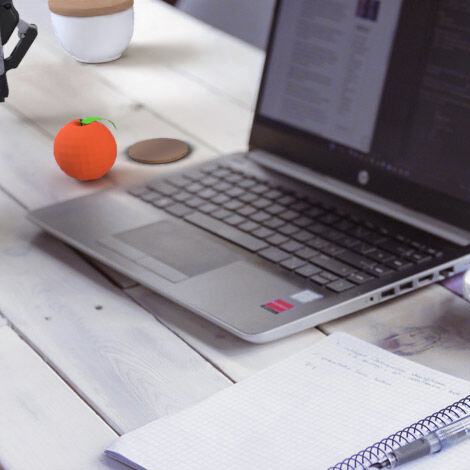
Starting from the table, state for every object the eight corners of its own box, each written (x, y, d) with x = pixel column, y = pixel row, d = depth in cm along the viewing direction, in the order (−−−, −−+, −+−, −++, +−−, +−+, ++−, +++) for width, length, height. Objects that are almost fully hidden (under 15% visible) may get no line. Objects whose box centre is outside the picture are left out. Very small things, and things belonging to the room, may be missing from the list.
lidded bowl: (146, 63, 145) (139, -10, 140) (62, 73, 141) (50, -2, 136) (131, 41, 156) (123, -28, 150) (51, 49, 151) (40, -21, 146)
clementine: (102, 157, 113) (95, 101, 110) (140, 173, 109) (133, 114, 106) (45, 179, 108) (35, 120, 104) (83, 196, 104) (73, 135, 100)
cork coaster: (120, 161, 112) (120, 158, 112) (141, 139, 118) (140, 136, 118) (177, 165, 111) (177, 162, 111) (195, 142, 117) (195, 139, 117)
